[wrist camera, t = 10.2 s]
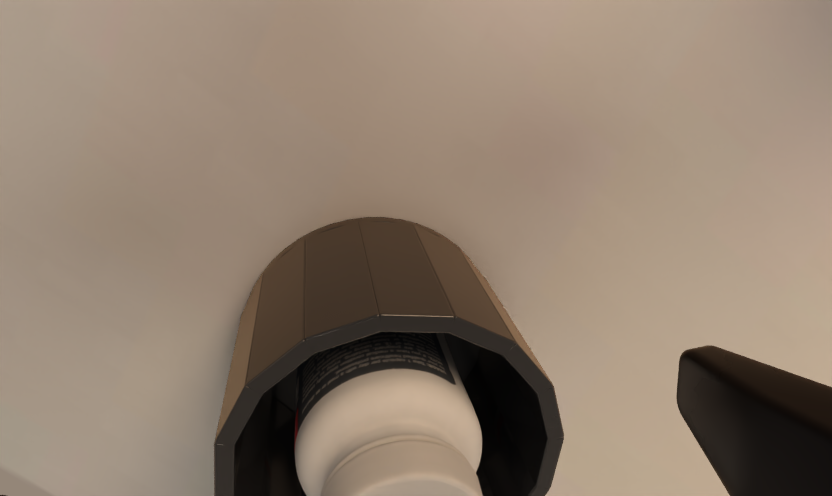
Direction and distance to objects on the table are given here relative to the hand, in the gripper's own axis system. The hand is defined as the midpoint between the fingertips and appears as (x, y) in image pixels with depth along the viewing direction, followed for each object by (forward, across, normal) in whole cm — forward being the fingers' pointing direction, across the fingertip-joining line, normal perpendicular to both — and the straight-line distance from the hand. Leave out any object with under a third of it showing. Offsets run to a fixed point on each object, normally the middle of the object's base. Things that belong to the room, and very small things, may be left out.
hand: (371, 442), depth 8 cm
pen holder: (+13, 0, +6) cm, 14 cm away
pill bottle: (+13, 0, +6) cm, 14 cm away
